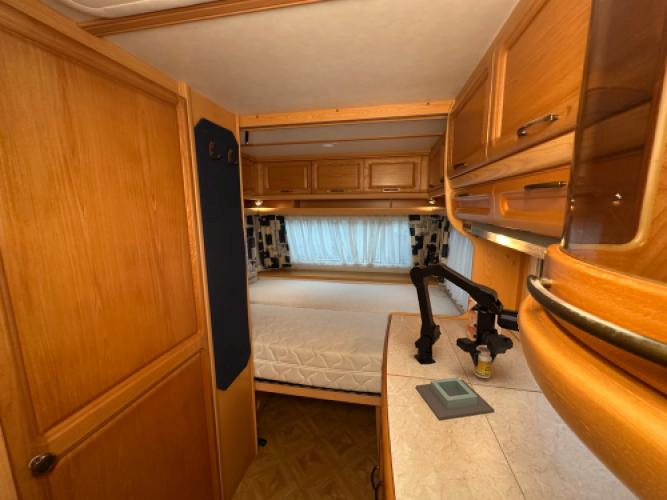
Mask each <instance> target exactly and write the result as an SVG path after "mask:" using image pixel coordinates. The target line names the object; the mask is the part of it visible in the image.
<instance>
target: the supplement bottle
mask: <svg viewBox="0 0 667 500" xmlns="http://www.w3.org/2000/svg"><path fill="white" fill-rule="evenodd" d="M479 351H481V353H480V354H479V356H478V365H477V367H476V366H475V365H474V364H473V365H474V367H473V368H474V369H473V372H474V374H475V376H477V377H479V378H483V379H489V378H491V374H492V365H493V363H492V357H491V356H490V350H489V349H488V348H485V347H479Z"/></svg>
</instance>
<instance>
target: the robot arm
mask: <svg viewBox="0 0 667 500" xmlns="http://www.w3.org/2000/svg"><path fill="white" fill-rule="evenodd" d="M435 275H439V276H441V277H442V278H444V279H445V280H447V281H448V282H449V283H452V284H453V285H455V286H456V287H458V288H460V289H461V290H463V291H464V292H465V293H467V294H468V295H469V296H470V298H472V299H473V300H474V301H476V302H477V304H476V305H474V306H473V307H472V308H471V310H473V311H477V324H474V327H475V328H476V335H473V338H475V339H476V340H475V341H472V340H471V339H469V338H468V337H467V336H466V337H458V338H456V341H455V345H456V346H457V347H458V348H459V349H461V350H462V352H465V353H467V354H469V356H470V358H471V361H472V362H473V365H475V366H476V367H477V365H478V356H479V354H480V353H481V351H479V346H486V345H487V348H488V349H489V350H490V356H491V357H492V364H493V363H494V361H495V360H496V357H497V355H501V354H502V355H504V354H506V353H507V350H512V349H513V348H514V341H513V340H512V339H511V337H509V336H506V335H504V334H502V333H501V334H498V330H497V329H496V328H495V319H496V315H497V324H498V326H500V328H502V329H503V330H507V331H508V330H510V331H512V332H516V333H517V332H518V333H520V332H519V329H518V324H517V314H518V311H519V310H517V309H516V310H514V309H509V308H505V306H504V304H503V303H502V302H501V300H500V298H499V294H498V292H497V291H496V290H495V289H494V288H492V287H489V286H487V285H484V284H481V283H477V282H476V281H473V280H472V279H469V277H466V276H464V275H463V274H461V273H459V271H456V270H455V269H453V268H451V267H449V266H448V265H447V264H446V263H444V262H438V263H435V264H428V265H426V264H418V265H416V266H413V267H412V268H411V269H410V270H409V277H410V279H411V283H412V284H413V286H414V287H415V289H416V290H415V291H416V295H417V296H416V297H417V302H418V307H419V314H420V320H421V324H420V330H419V332H420V333H419V338H418V339H416V341H414V347H415V348H416V349H417V352H416V353H417V354H414V355H413V356H414V358H415V360H417V362H418V363H419V364H420V365H427V364H436V360H435V359H434V358H433V347H434V345H435V344H436V343H437V342H438V341H439V340H440V338H441V335H442V332H441V324H436V322H435V320H434V315H433V310H432V309H433V308H432V303H431V297H430V293H429V292H430V290H429V284H430V277H431V276H435Z"/></svg>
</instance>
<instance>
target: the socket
mask: <svg viewBox="0 0 667 500" xmlns="http://www.w3.org/2000/svg"><path fill="white" fill-rule="evenodd" d="M415 389H416V391H417V393H419V394H420V395H419V396H421V398H422V399H423V400H424V401H425V403H426V405H427V406H428V407H429V408H430V410H431V411H432V413H433V414H434V415H435V416H436V418H437V419H438V420H439V421H444V420H445V421H446V420H452V419H457V418H465V417H472V416H479V415H484V414H493V413H495V409H494V408H493V407H492V406H491V405H490V404H489V403H488V402H487V401H486V400H485V399H484V398H483V397H482V396H481V395H480V394H479V393H477V391H476V390H475V389H473V388H472V387H471V386H470V385H469V384H468V383H467V382H466V381H465V380H464V379H460V378H459V377H450V378H441V379H433V380H430V383H427V384H418V385H415Z"/></svg>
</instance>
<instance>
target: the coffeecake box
mask: <svg viewBox="0 0 667 500" xmlns="http://www.w3.org/2000/svg"><path fill="white" fill-rule="evenodd" d="M476 304H477V302H476V301H474V300H473V299H472V297H469V298H468V309H467V324H466V326H467V327H466V337H467V338H469V339H470V340H471V341H475V340H476V339H475V338H473V335H476V328H475V327H474V324H477V311H473V310H471V308H472V307H473V306H474V305H476ZM495 328H496V329H497V330H498V334H502V329H503V328H500V326H498V324H497V315H496V319H495ZM479 347H485V348H487V345H486V346H479Z"/></svg>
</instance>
